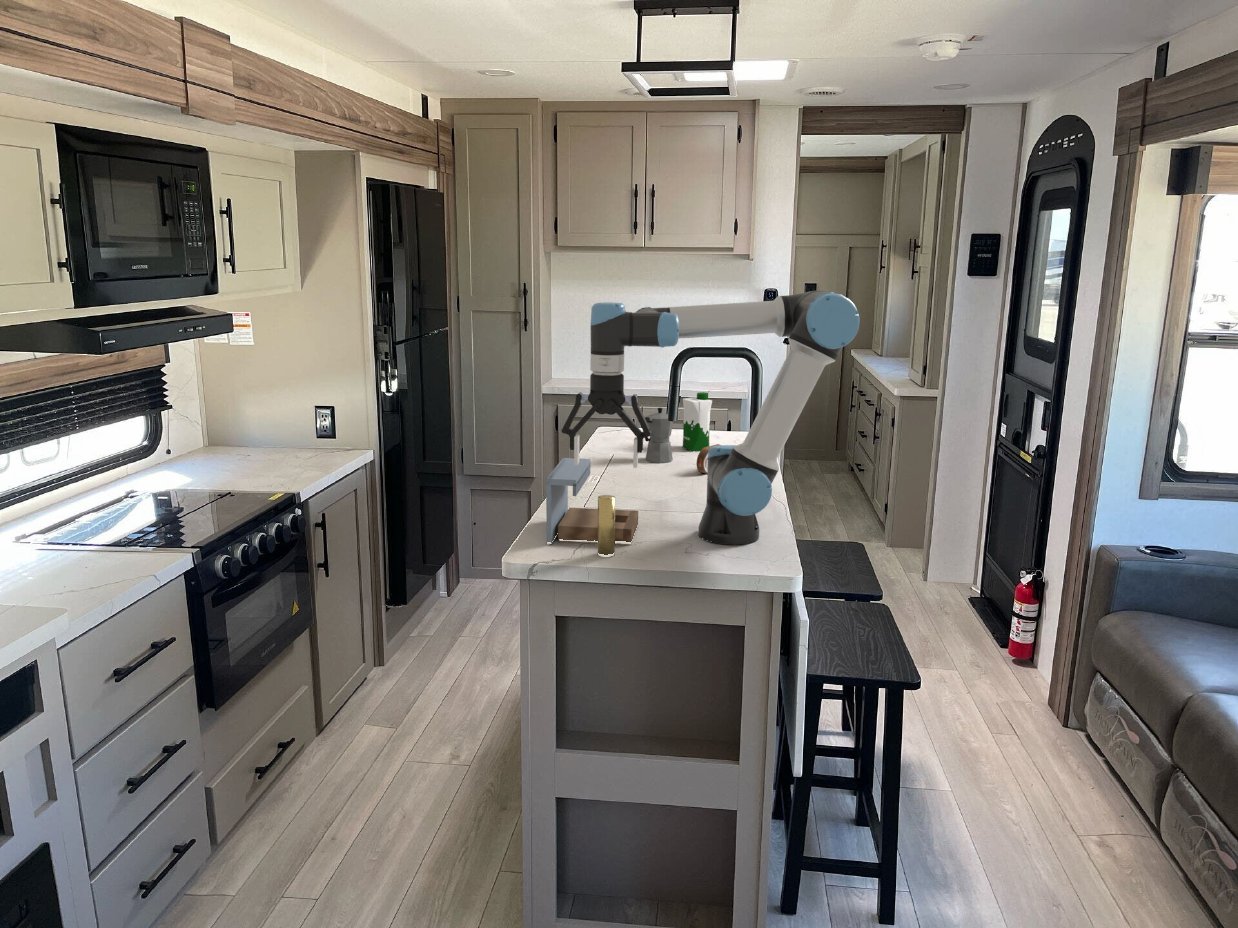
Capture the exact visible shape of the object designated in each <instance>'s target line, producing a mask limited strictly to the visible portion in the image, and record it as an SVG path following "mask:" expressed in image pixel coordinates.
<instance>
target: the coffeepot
mask: <svg viewBox="0 0 1238 928" xmlns="http://www.w3.org/2000/svg"><path fill="white" fill-rule="evenodd" d="M668 414H669V413H668ZM668 414H667V413H663V407H657V412H656V413H652V414H648V415H646V416H644V417H645V419H646V421H647V423H648V426H649V428H650V430H651V435H650V436H649V437H645V438H644V441H645V442H648V444H647V449H646V454H645V460H646V462H648V463H652V464H653V463H654V464H667V463H671V462H672V461H673V459H674V458H673V452H672V451H673V450H672V445H671V441H670V437H671V435H672V430H673V425H674V421H673V422H669V421H668Z"/></svg>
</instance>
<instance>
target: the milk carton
mask: <svg viewBox="0 0 1238 928" xmlns="http://www.w3.org/2000/svg"><path fill="white" fill-rule="evenodd" d="M682 404H683V405H682V406H683V426H682V427H683V428H682V430H683V431H682V432H683V435H682V448H683V447H684V448H686V449H685V450H687V449H688V450H687V451H690V452H692V453H693V451H695V452H700V451H701V450H702V449H703V448H705V447H708V446H710V429H711V428H710V426H711V425H710V424H711V408H712V404H713V400H712V399H710V398H709V393H708V392H697V393H696V397H688V398H686V397H685V398H682ZM684 448H683V449H684Z"/></svg>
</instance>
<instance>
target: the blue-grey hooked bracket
mask: <svg viewBox="0 0 1238 928" xmlns="http://www.w3.org/2000/svg"><path fill="white" fill-rule="evenodd" d="M590 475H591V458H579V464H578V465H574V457H573V458H571V457H563V458H562V459H561V460H560V461H559V462H558V464H557V465H556V466H555V468H553V470H552V471H551V472H550V473H549V474H548V476H547V477H546V478H545V491H546V492H545V494H546V495H545V497H546V499H545V500H546V502H545V504H546V506H545V507H546V508H545V510H546V512H545V513H546V517H545V518H546V519H545V520H546V543H547V542H551V543H552V541H553V540H554V538H555V536H556V535H557V533H558V525H559V523H560V522H561V520H562V519H563V517H564V515H565V514H566V512H567V511H568V509H569V493H568V492H569V487H572V497H577V496H578V494H579V492H580V491H581V489H582V488H583V486H584V484H585V483H586V481H587V480H588V478H589V477H590ZM554 541H555V540H554Z"/></svg>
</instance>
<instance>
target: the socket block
mask: <svg viewBox="0 0 1238 928" xmlns="http://www.w3.org/2000/svg"><path fill="white" fill-rule="evenodd" d="M637 525H638V526H639V510H637V509H635V510H628V509H615V541H626V542H631V541H632V539H633V540H634V538H633V536H634V537H635V535H634V533H635V531H636V532H637V530H636V528H637V529H638V527H637ZM635 534H636V533H635ZM558 539H563V540H587V541H594V540H595V541H598V508H592V507H591V508H589V507H588V508H587V507H568V511H567V512H566V514H565V515H564V517H563V519H562V520H561V522H560V523H559V525H558V536H557V540H558ZM632 542H633V541H632Z"/></svg>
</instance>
